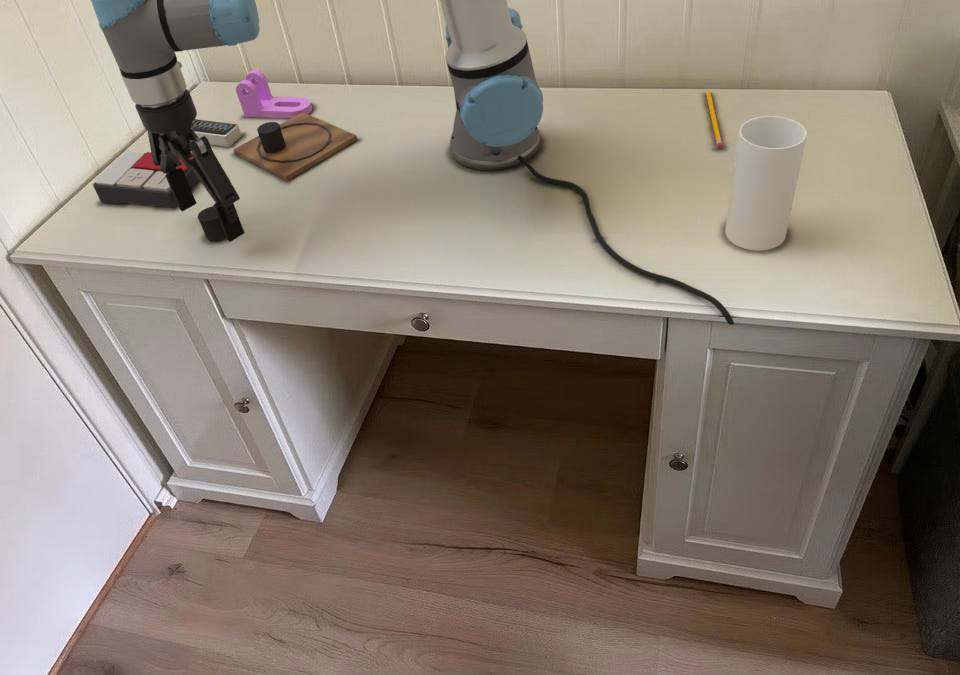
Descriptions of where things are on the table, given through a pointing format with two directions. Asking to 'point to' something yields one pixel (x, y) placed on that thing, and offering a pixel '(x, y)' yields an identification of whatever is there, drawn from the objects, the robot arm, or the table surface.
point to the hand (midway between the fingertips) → (211, 221)
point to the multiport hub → (217, 132)
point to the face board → (297, 146)
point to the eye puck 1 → (211, 225)
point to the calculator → (139, 181)
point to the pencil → (714, 120)
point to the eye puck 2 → (271, 137)
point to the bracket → (267, 99)
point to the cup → (764, 181)
